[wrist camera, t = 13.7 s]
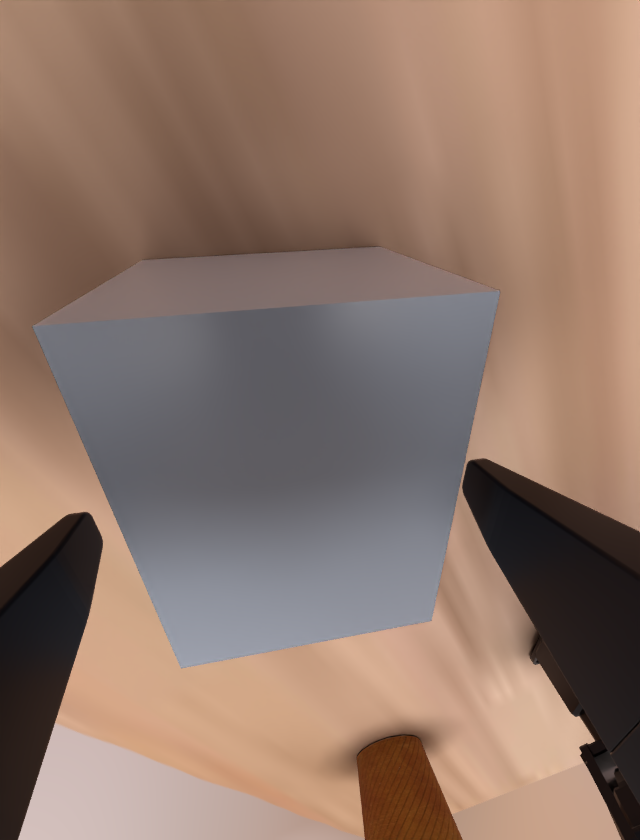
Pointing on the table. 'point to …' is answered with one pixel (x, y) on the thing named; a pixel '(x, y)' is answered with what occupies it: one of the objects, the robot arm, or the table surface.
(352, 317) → the grey rectangular block
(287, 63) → the table surface
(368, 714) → the table surface
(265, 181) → the table surface
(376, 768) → the disposable coffee cup
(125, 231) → the table surface
